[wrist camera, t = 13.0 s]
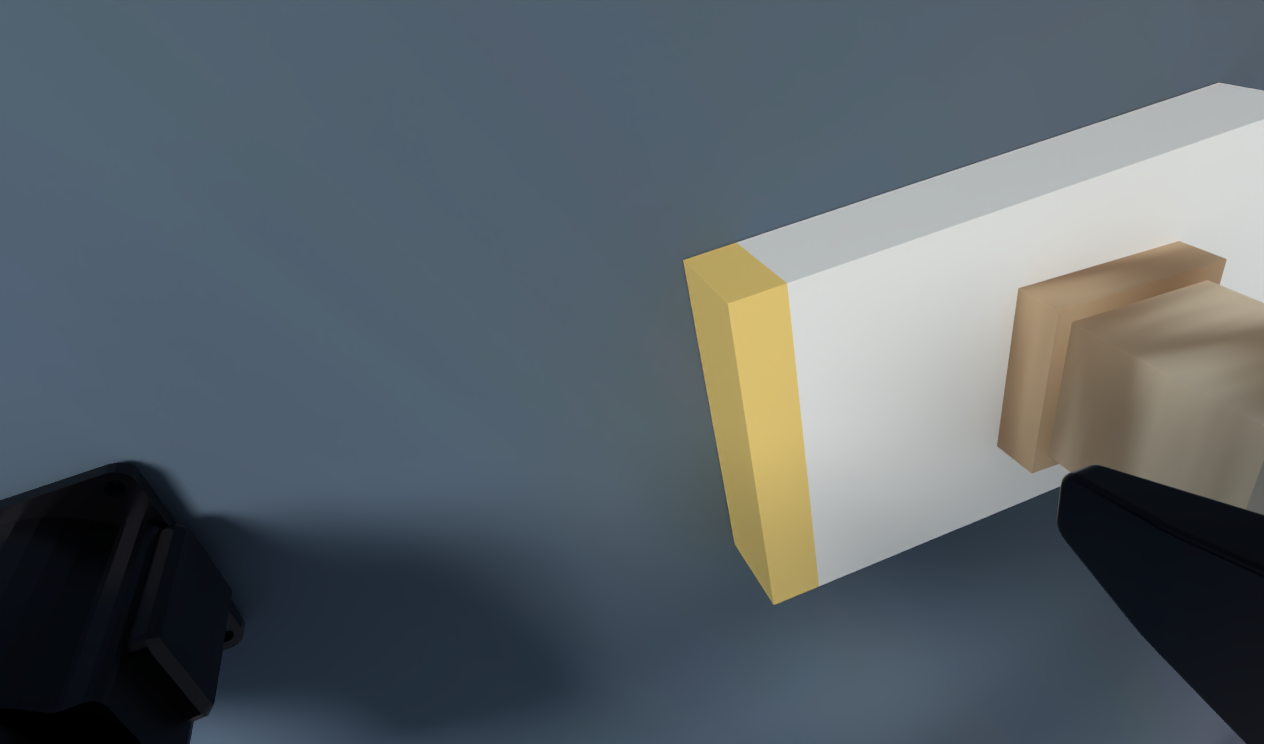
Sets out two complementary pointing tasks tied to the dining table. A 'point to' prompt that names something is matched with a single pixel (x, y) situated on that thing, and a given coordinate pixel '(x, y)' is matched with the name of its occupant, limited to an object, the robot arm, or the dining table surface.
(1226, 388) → the beige tall block
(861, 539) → the dock
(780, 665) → the dining table surface
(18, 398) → the dining table surface
